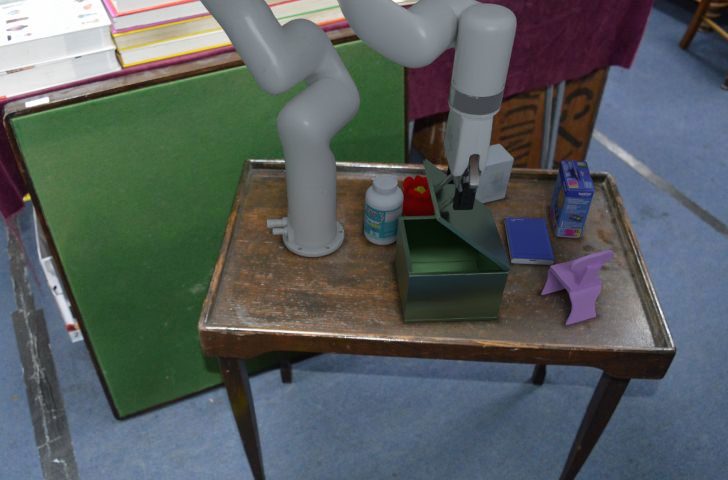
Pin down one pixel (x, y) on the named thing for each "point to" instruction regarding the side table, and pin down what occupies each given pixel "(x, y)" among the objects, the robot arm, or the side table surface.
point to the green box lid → (465, 216)
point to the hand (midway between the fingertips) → (459, 194)
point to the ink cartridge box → (571, 199)
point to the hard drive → (528, 241)
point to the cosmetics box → (494, 175)
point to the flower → (417, 197)
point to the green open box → (444, 275)
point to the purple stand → (579, 283)
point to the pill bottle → (383, 210)
